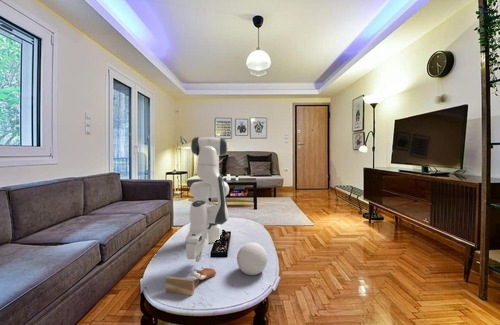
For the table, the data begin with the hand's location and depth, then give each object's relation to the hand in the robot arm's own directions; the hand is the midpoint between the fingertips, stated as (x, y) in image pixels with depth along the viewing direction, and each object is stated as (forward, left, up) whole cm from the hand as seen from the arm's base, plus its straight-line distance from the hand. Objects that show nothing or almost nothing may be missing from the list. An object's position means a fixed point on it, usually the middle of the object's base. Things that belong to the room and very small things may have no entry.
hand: (198, 260), depth 120 cm
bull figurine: (+6, +2, -2) cm, 7 cm away
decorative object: (-2, +27, -5) cm, 28 cm away
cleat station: (+16, 0, -5) cm, 17 cm away
